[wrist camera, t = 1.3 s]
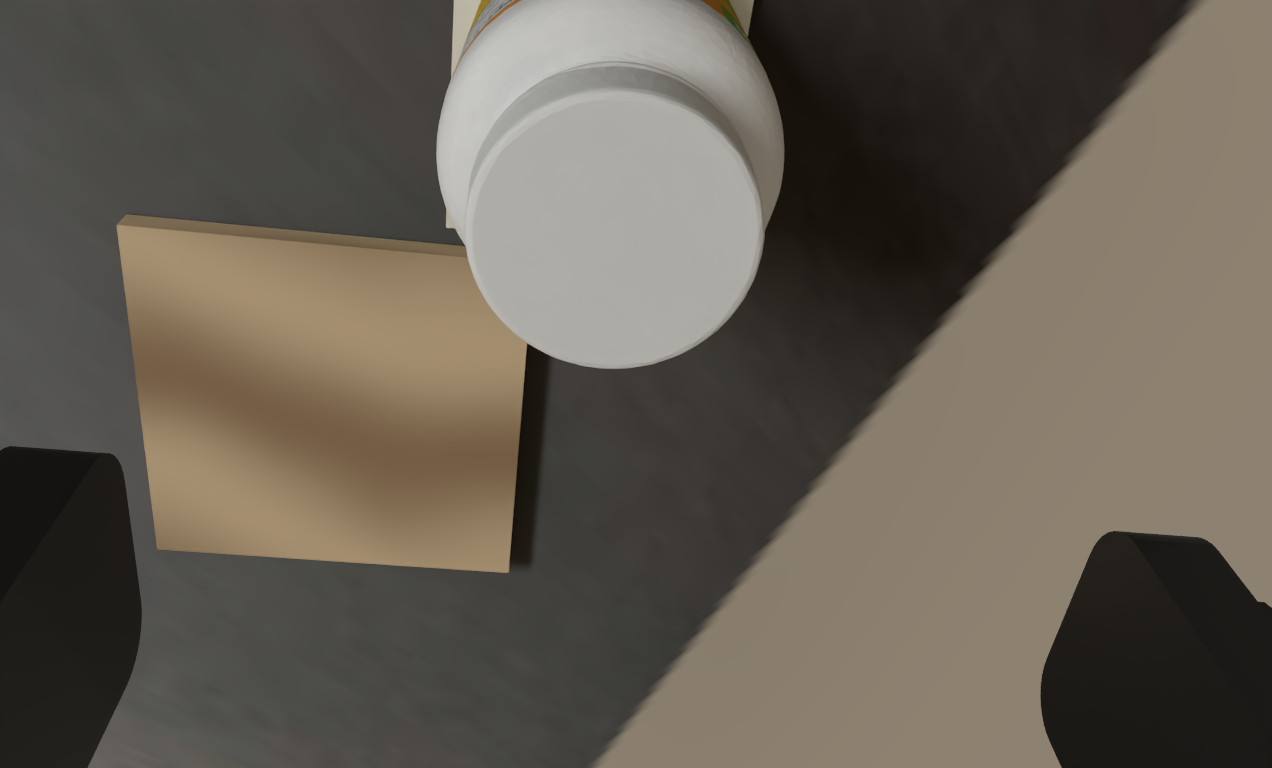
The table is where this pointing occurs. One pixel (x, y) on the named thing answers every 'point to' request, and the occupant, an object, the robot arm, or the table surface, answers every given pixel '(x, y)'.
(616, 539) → the table surface
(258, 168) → the table surface
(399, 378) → the oak coaster
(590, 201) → the supplement bottle
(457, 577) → the table surface
